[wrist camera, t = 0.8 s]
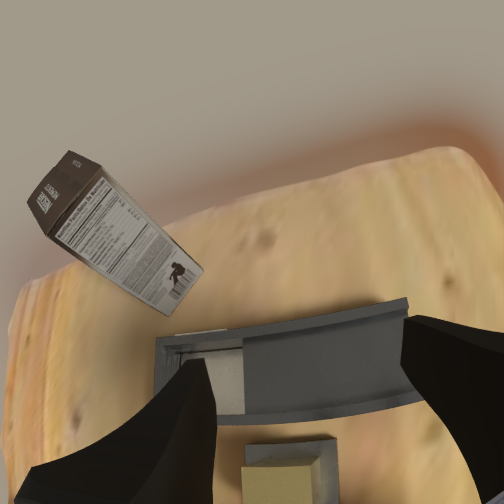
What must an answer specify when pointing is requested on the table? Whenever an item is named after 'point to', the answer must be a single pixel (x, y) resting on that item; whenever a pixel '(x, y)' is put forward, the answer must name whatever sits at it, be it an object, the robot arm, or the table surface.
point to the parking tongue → (304, 450)
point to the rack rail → (299, 366)
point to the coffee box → (112, 233)
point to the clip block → (282, 481)
